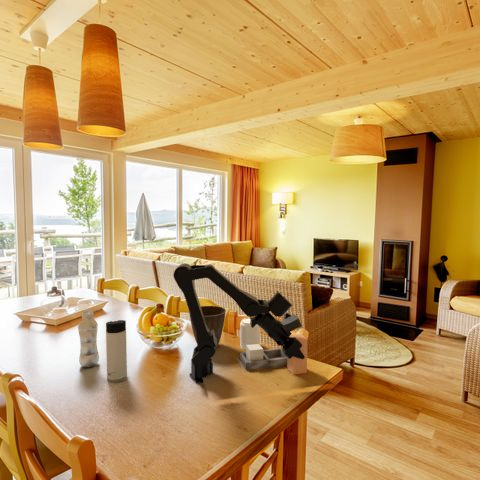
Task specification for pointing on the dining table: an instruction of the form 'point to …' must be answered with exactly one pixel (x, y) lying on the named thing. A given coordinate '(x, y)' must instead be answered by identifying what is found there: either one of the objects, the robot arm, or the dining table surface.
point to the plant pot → (212, 320)
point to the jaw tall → (296, 363)
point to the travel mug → (116, 351)
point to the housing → (264, 360)
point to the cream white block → (254, 352)
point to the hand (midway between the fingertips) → (300, 354)
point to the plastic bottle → (88, 340)
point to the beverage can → (248, 333)
